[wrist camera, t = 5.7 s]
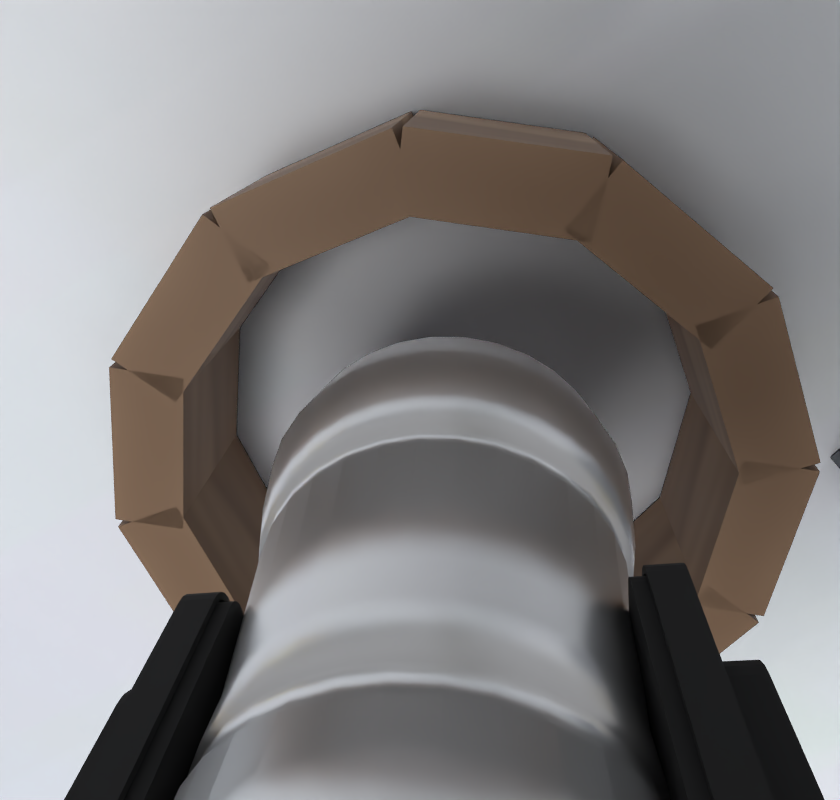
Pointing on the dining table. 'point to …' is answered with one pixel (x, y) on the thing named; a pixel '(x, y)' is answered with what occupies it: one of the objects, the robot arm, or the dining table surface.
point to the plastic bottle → (438, 597)
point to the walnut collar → (485, 207)
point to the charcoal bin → (836, 458)
